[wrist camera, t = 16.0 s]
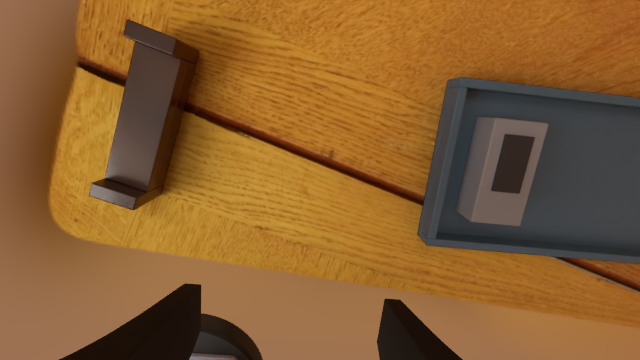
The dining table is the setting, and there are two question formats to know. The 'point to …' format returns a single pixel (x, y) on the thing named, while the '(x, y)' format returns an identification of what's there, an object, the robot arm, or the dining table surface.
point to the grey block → (500, 170)
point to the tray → (544, 173)
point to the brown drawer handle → (147, 117)
